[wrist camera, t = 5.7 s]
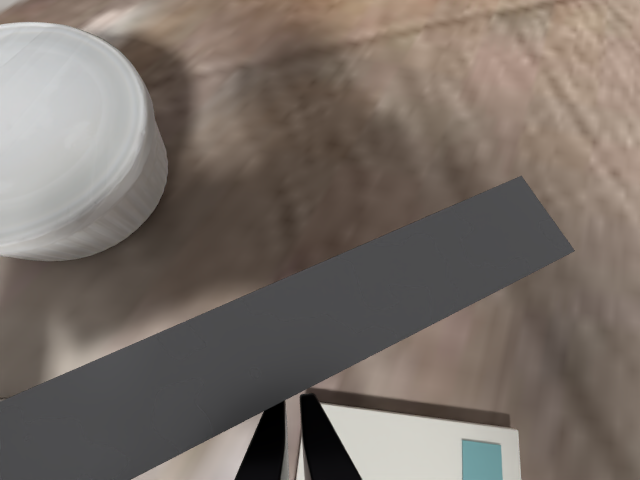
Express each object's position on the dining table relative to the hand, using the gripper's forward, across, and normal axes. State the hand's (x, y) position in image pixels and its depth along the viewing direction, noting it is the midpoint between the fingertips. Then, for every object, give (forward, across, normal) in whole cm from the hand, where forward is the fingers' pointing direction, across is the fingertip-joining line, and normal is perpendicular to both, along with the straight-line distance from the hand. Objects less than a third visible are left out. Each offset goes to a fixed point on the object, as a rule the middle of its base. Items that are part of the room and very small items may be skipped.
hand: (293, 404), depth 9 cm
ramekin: (+13, +11, -3) cm, 18 cm away
